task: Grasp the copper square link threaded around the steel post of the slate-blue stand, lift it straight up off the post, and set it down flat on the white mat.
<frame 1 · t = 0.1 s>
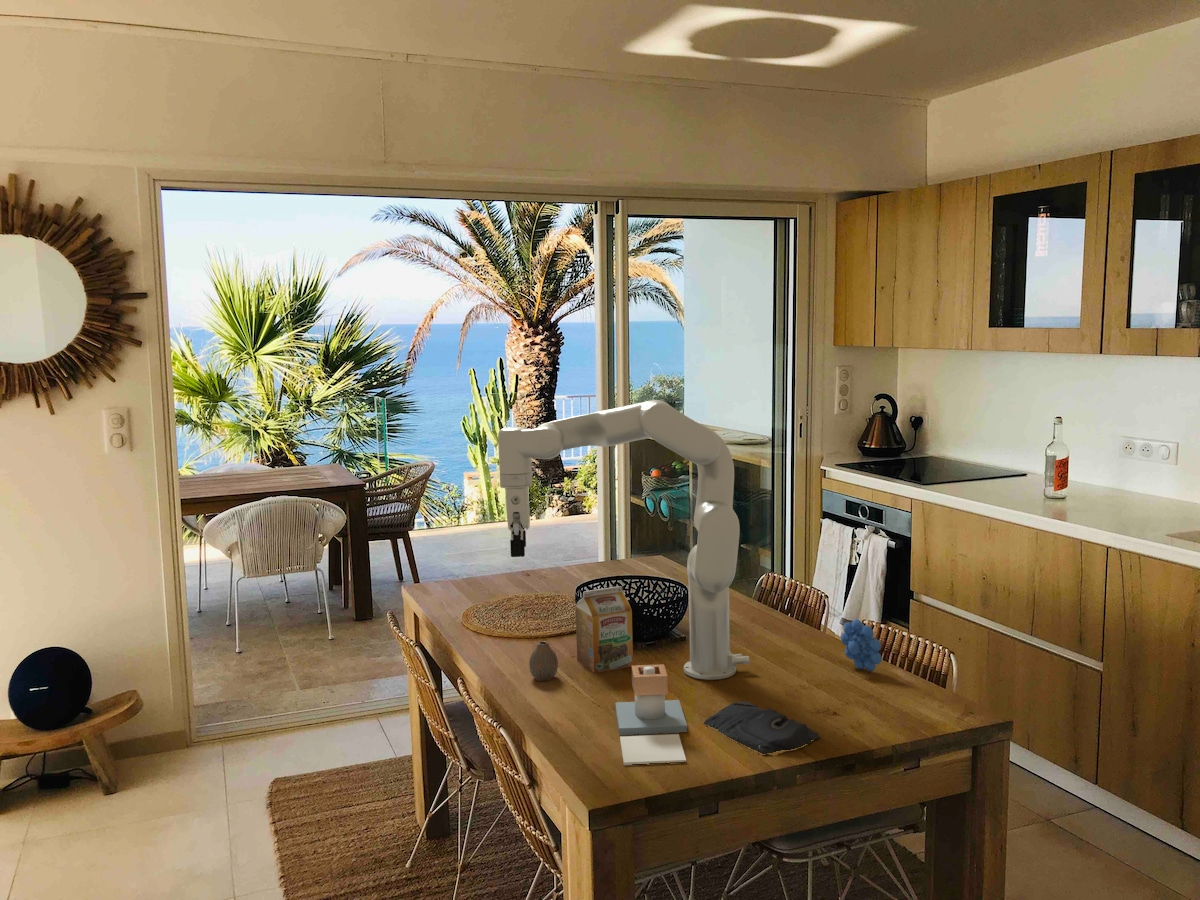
hand: (518, 551, 234), 31 cm above the table, fingers open, 9 cm apart
vase: (544, 678, 238), on the table
copper link: (649, 688, 210), point 7 cm above the table, touching post stand
grapes: (858, 670, 238), on the table
post stand: (650, 720, 211), on the table
white mat: (652, 750, 196), on the table
dark pouch with grommet: (760, 734, 204), on the table
milk carton: (604, 663, 248), on the table
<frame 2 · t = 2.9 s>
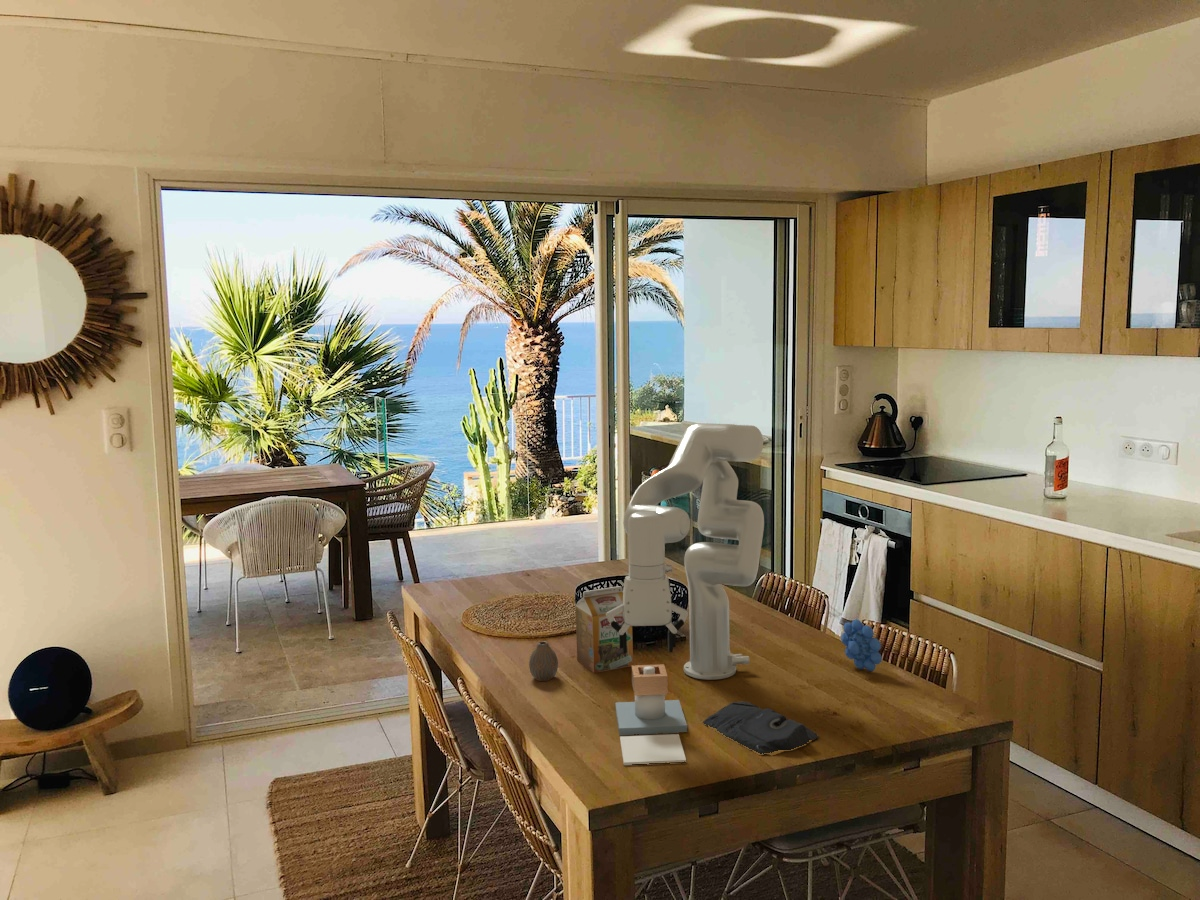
hand: (647, 651, 209), 15 cm above the table, fingers open, 9 cm apart
nothing on the table moved.
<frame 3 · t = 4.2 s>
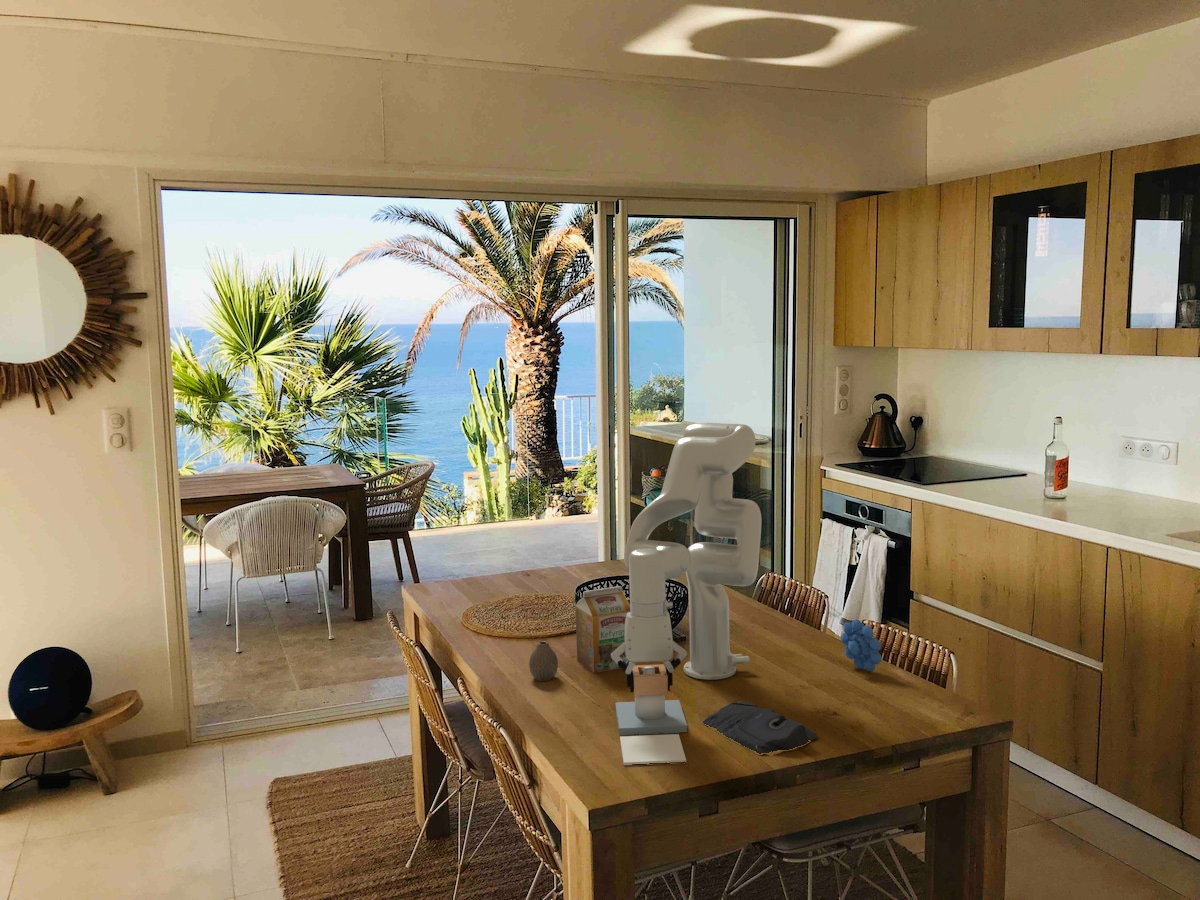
hand: (649, 688, 210), 7 cm above the table, fingers closed on copper link, 7 cm apart
copper link: (649, 688, 210), point 7 cm above the table, touching gripper, post stand
everything else where it was.
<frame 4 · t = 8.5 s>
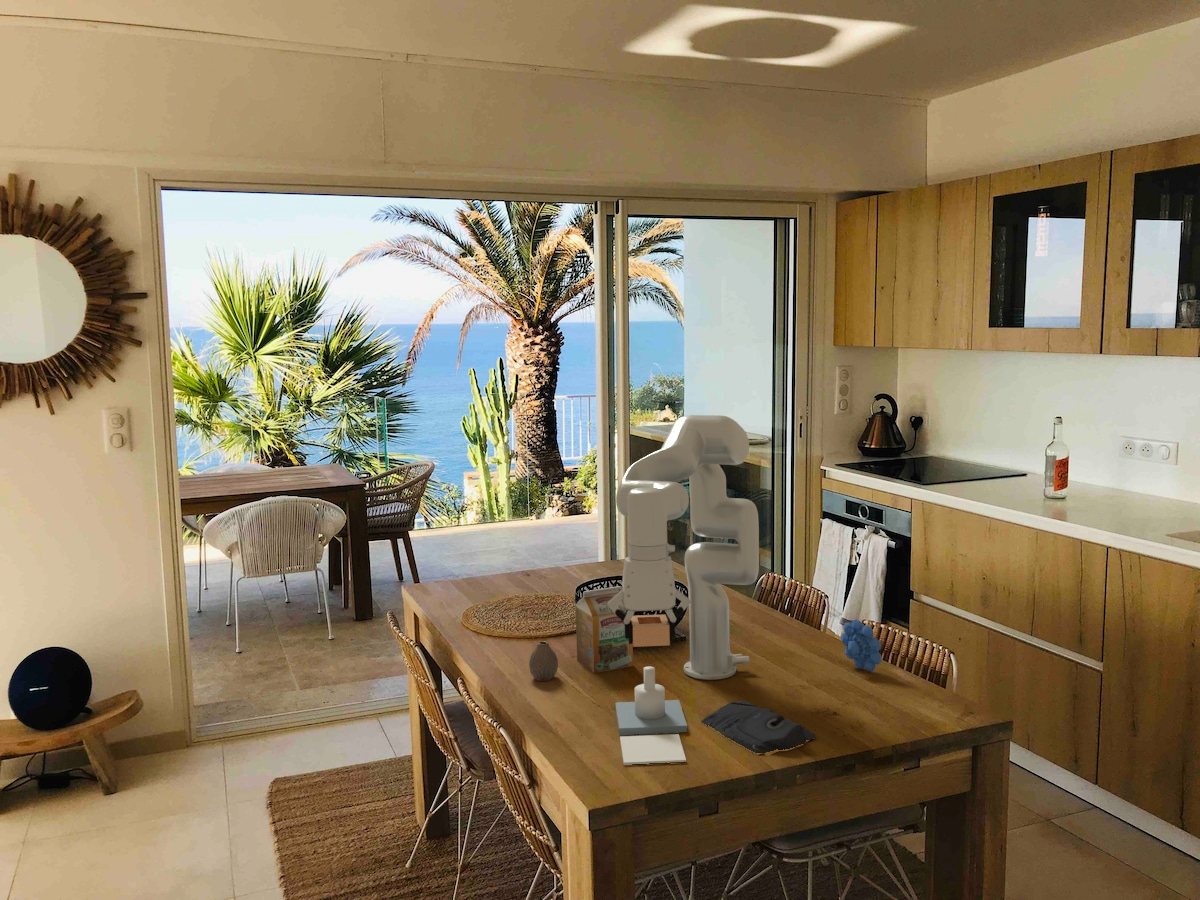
hand: (649, 640, 194), 23 cm above the table, fingers closed on copper link, 7 cm apart
copper link: (649, 640, 194), point 23 cm above the table, touching gripper
everything else where it was.
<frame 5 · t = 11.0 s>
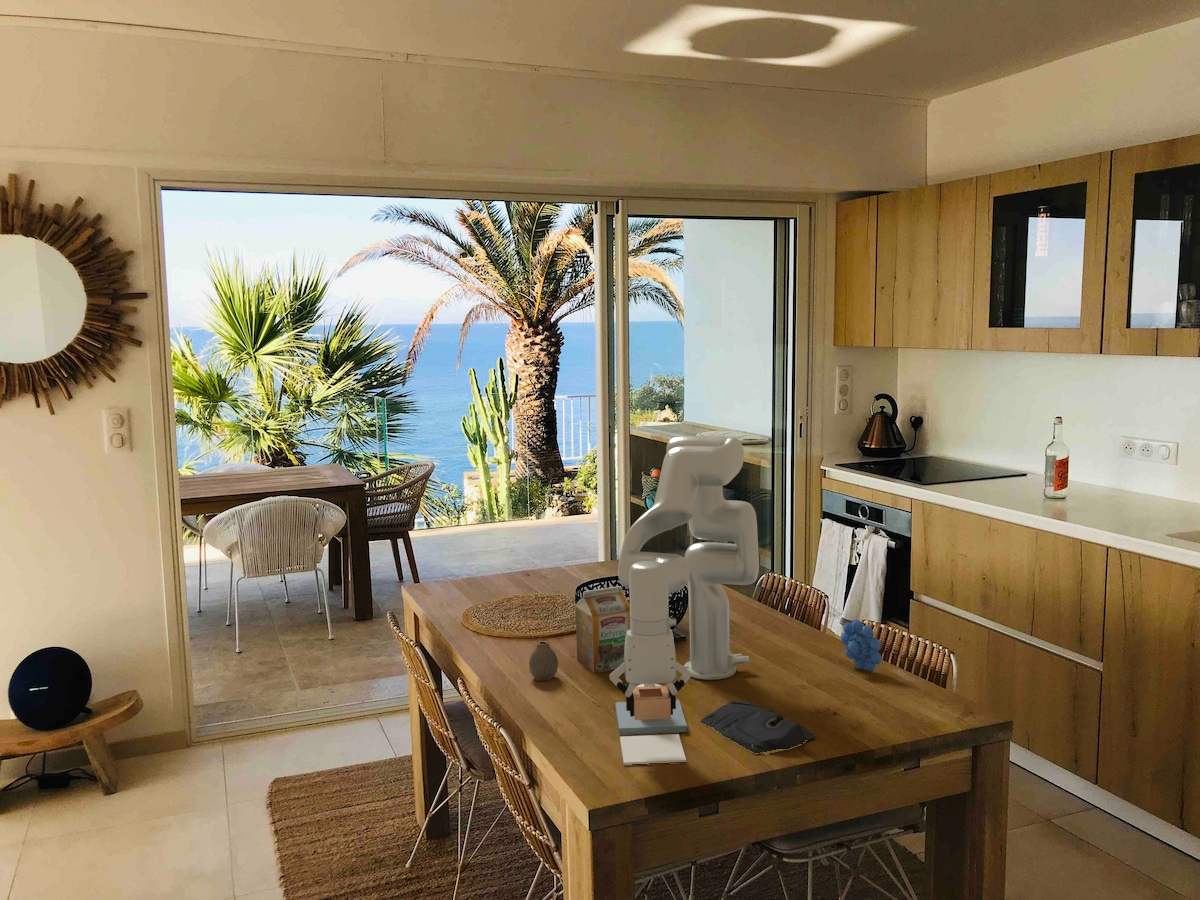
hand: (651, 712, 195), 8 cm above the table, fingers closed on copper link, 7 cm apart
copper link: (651, 712, 195), point 8 cm above the table, touching gripper
everything else where it was.
when the fingers open (2 cm above the table, at t = 13.2 s): copper link drops 2 cm, resting on white mat.
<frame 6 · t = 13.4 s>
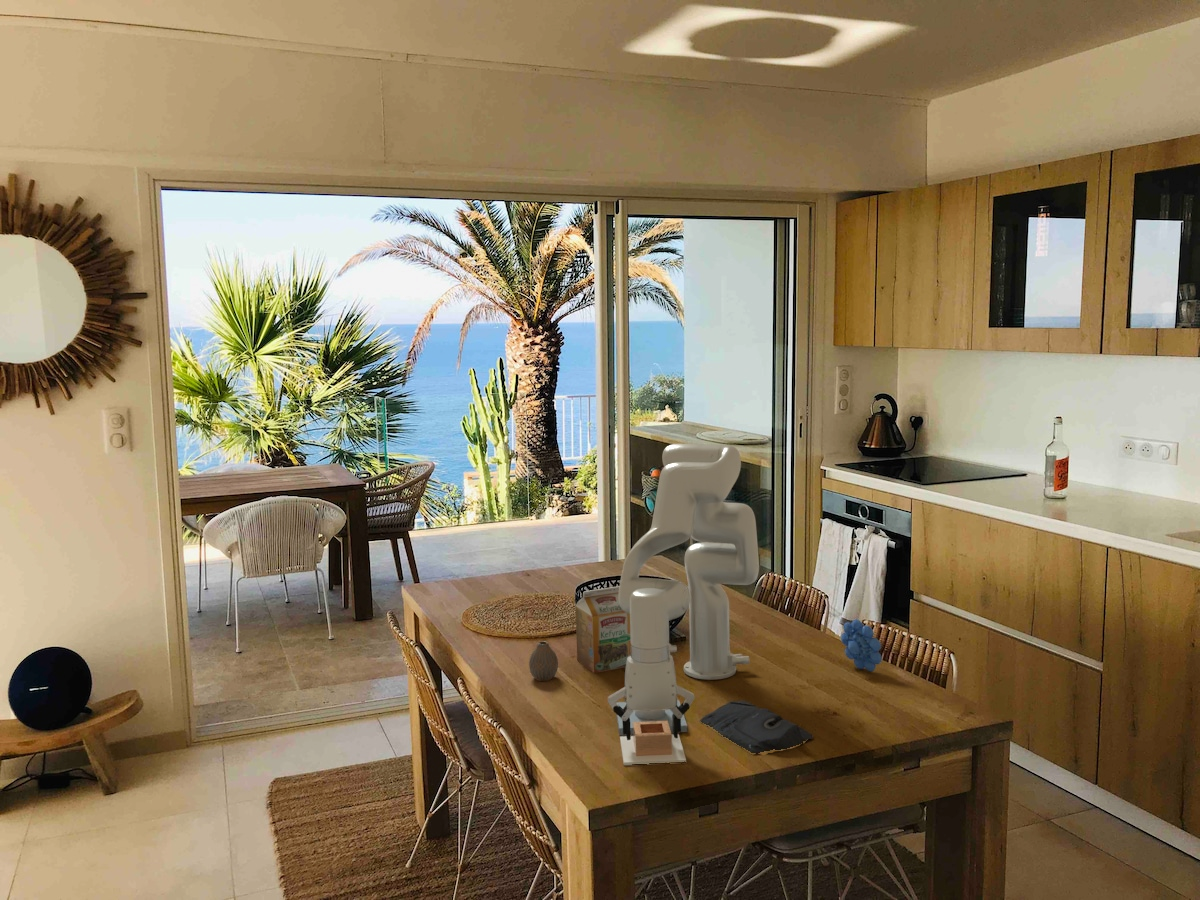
hand: (651, 736, 196), 3 cm above the table, fingers open, 9 cm apart
copper link: (652, 747, 196), point 1 cm above the table, touching white mat
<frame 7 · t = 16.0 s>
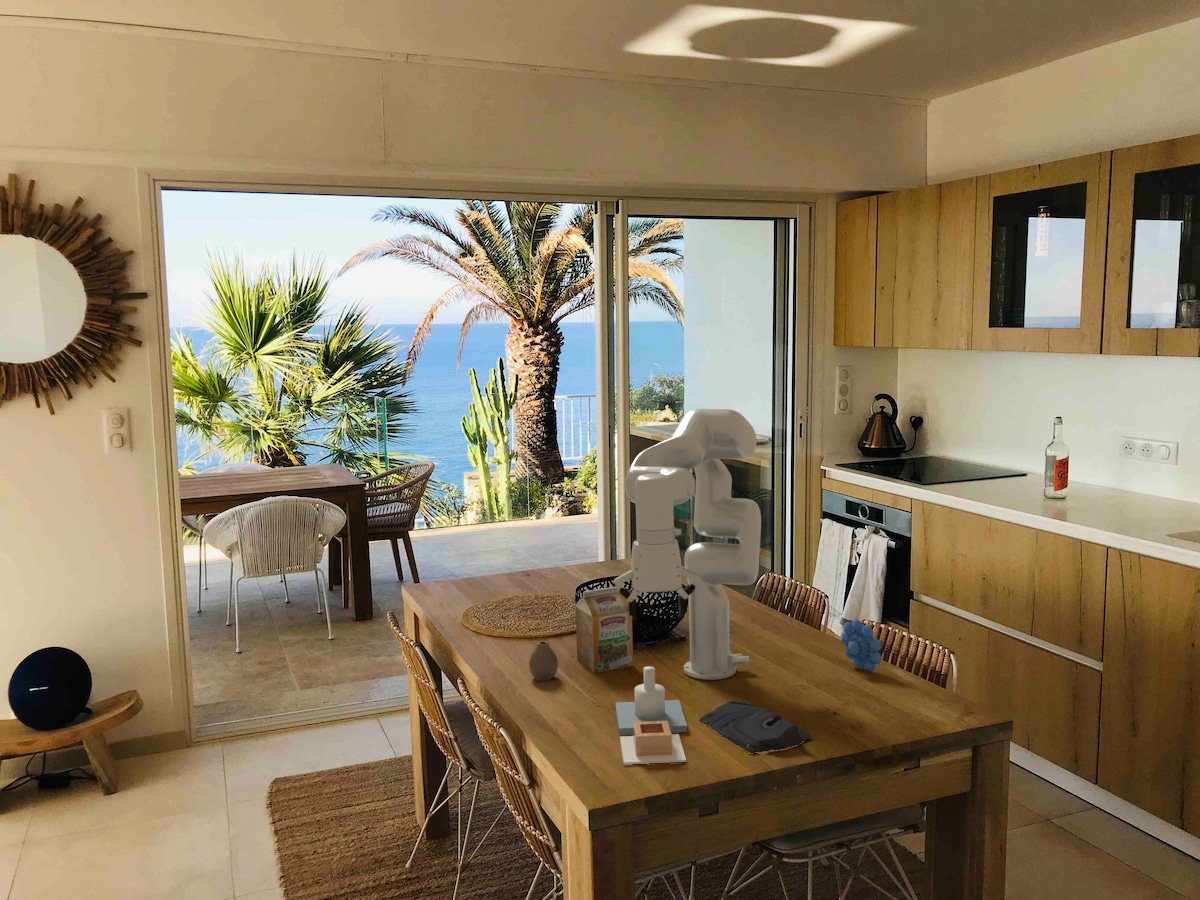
hand: (658, 617, 202), 25 cm above the table, fingers open, 9 cm apart
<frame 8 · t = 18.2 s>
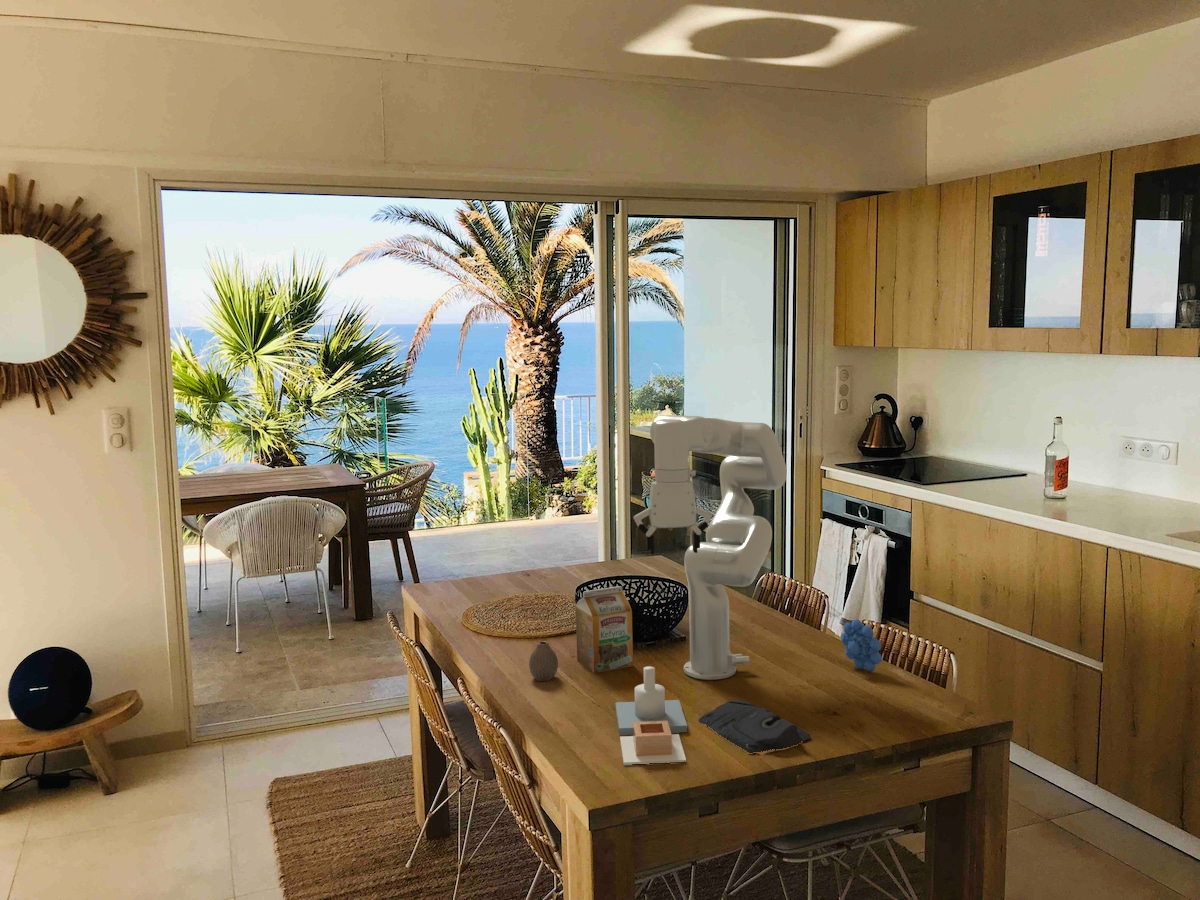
hand: (673, 552, 220), 33 cm above the table, fingers open, 9 cm apart
at the end: copper link inside the target area (0.1 cm from its centre), point 0.6 cm above the table; copper link tilted 0°; copper link touching white mat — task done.
